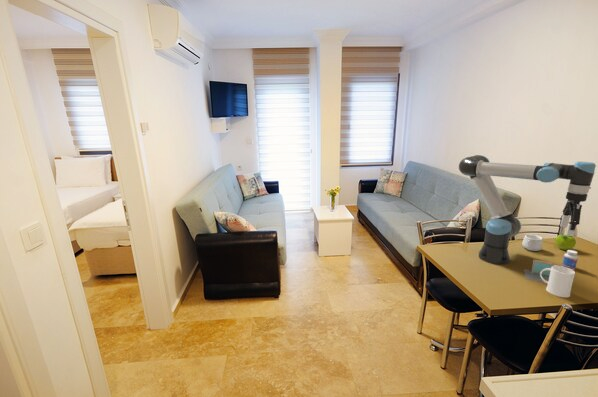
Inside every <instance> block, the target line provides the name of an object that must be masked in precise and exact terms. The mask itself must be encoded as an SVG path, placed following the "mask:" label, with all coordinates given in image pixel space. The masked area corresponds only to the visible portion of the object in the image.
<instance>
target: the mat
mask: <svg viewBox="0 0 598 397" xmlns="http://www.w3.org/2000/svg"><path fill="white" fill-rule="evenodd" d="M531 270H532V269H531ZM531 270H530V269H525V268H524V269H523V271H524V278H525V279H527V280H532V281H537V282H541V283H545V282H544V281H543V280H542V279H541V277H540V274H537V273H532V272H531ZM541 275H542V274H541ZM542 277H543V279H544V280H546V281H549V276H547V275H542Z"/></svg>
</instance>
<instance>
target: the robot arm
mask: <svg viewBox="0 0 598 397" xmlns="http://www.w3.org/2000/svg"><path fill="white" fill-rule="evenodd" d="M596 166H597V165H596V163H594V162H591V161H576V162H575V163H574V164H566V163H565V164H563V163H556V162H555V163H554V162H545V163H544V164H543V165H533V164H518V163H504V162H502V163H501V162H490V159H489V158H488V157H486V156H485V155H480V154H479V155H478V154H474V155H473V156H468V157H464V158H463V159H461V161H460V162H459V163H458V171H459V172H460V173H461V174H462V175H464V176H467V177H469V178H470V179H471V181H474V182H475V184H476V186H477V188H478V190H479V192H480V194H481V196H482V198H483V201H484V203H485V204H486V206H487V208H488V211H489V213H490V215H491V217H490V219H489V220H488V221H487V222H486V226H485V233H484V241H483V245H482V247H481V249H480V250H479V252H478V257H479V259H481V260H482V261H484V262H487V263H490V264H494V265H507V264H509V263H510V254H509V249H508V247H509V243H510V242H509V241H510V239H511V238H513V237H514V236H516V235H518V234H519V232H520V231H521V229H522V224H521V221H520V220H519V219H518V218H517V217H515V215H514V214H513V212H512V211H509V210H508V208H507V207H506V205H505V203H504V200H503V199H502V197H501V195H500V193H499V191H498V189H497V186H496V184H495V183H494V180H493V178H492V177H498V178H499V177H500V178H511V179H521V180H530V181H531V180H533V181H539V182H542V183H552V182H555V181H556V180H558V179H559V180H560V179H561V180H569V184H568V187H567V192H566V195H565V199H566V200H567V201H566V204H565V206H564V207H563V210H562V218H561V221H560V225H559V226H560V227H563V228H567V231H566V234H565V235H568V236H572V237H575V236H574V235H575V232H576V229H577V225H578V226H579V225H580V220H581V212H582V207H583V205H582V204H581V202H587V198H588V194H589V192H590V190H591V189H592V187H591V184H592V180H593V178H594V176H595V173H596V172H595V170H596V168H597V167H596ZM491 176H492V177H491Z"/></svg>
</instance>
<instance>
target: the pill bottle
mask: <svg viewBox="0 0 598 397" xmlns="http://www.w3.org/2000/svg"><path fill="white" fill-rule="evenodd" d="M578 258H579V256H578V251H577V250H573V249H570V250H566V253H564V255H563V259H562V264H561V266H563V267H567V268H569V269H572V270H573V271H575V270H576V267H577V265H578Z"/></svg>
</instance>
